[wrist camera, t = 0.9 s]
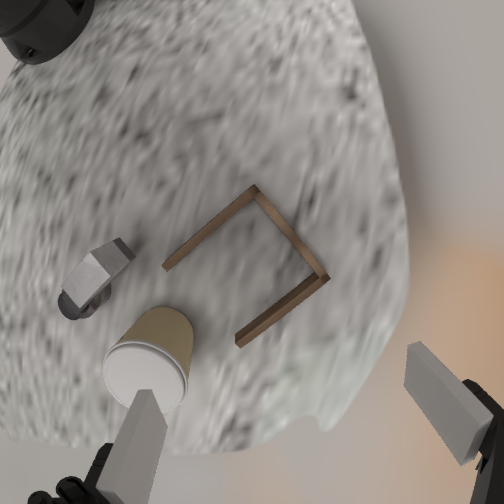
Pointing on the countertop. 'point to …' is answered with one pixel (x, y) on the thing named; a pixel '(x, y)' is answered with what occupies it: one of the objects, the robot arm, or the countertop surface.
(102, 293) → the pedestal
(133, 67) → the countertop surface
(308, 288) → the brown u-shaped wooden bracket
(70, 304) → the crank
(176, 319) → the coffee cup
